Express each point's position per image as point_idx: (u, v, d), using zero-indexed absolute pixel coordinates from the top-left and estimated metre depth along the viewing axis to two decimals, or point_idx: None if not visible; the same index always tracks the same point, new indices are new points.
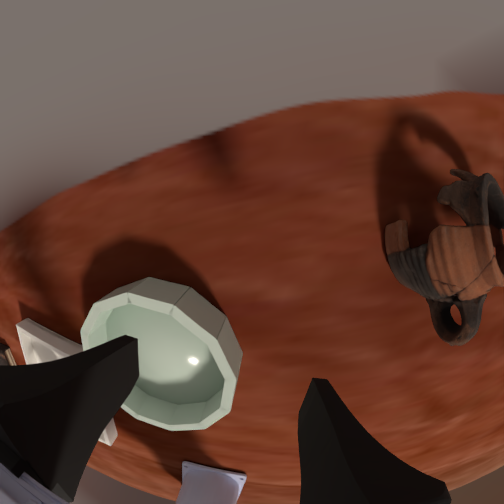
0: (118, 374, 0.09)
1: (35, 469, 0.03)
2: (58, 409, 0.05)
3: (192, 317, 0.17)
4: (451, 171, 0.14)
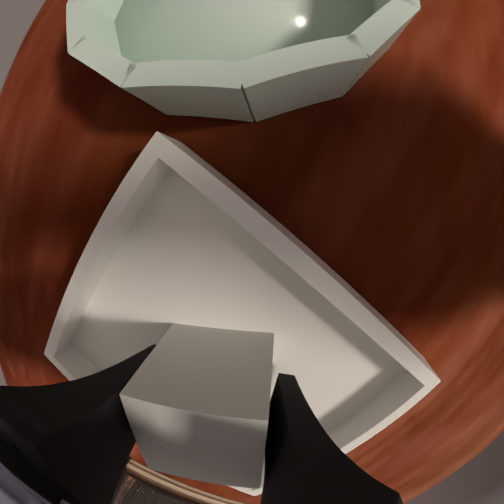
0: None
1: (74, 495, 0.03)
2: (97, 430, 0.05)
3: None
4: None
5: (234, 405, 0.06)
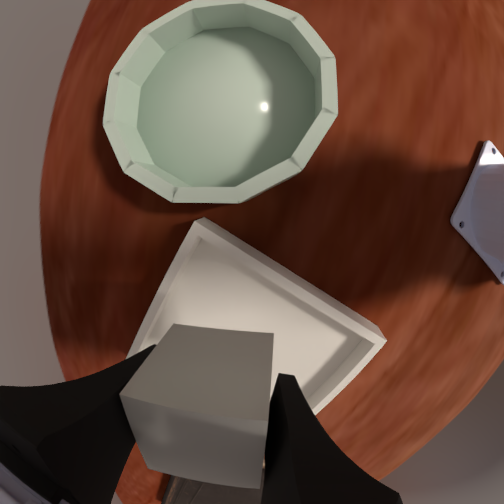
0: None
1: (74, 495, 0.03)
2: (97, 430, 0.05)
3: None
4: None
5: (233, 406, 0.06)
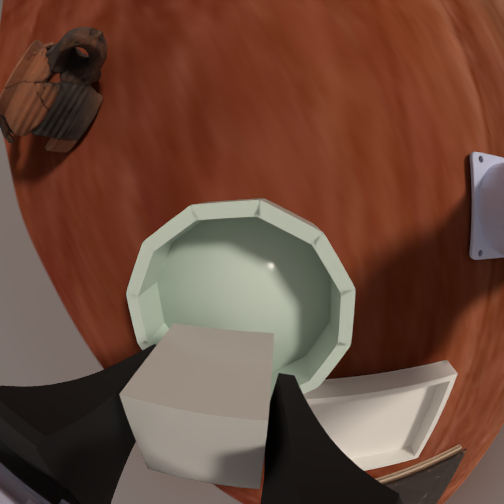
0: None
1: (74, 495, 0.03)
2: (97, 430, 0.05)
3: None
4: (12, 133, 0.14)
5: (233, 405, 0.06)
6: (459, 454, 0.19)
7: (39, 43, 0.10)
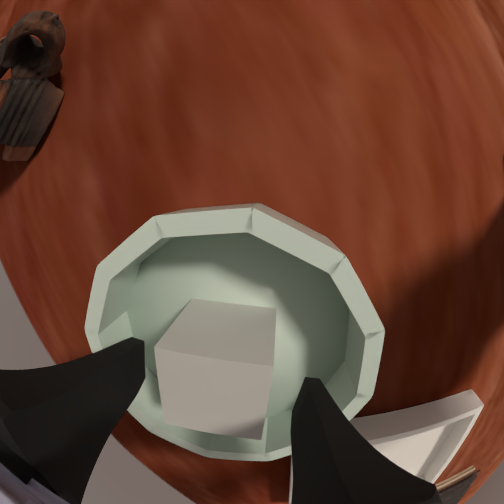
0: (125, 377, 0.08)
1: (43, 475, 0.03)
2: (66, 414, 0.05)
3: None
4: None
5: (247, 355, 0.09)
6: (472, 476, 0.14)
7: None
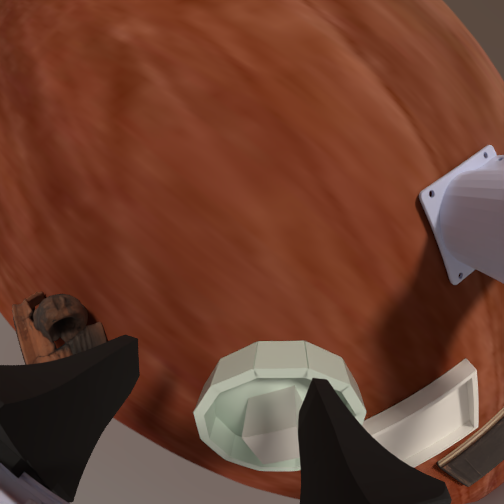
0: (118, 374, 0.09)
1: (35, 469, 0.03)
2: (58, 409, 0.05)
3: None
4: None
5: (283, 425, 0.16)
6: None
7: (19, 314, 0.16)
